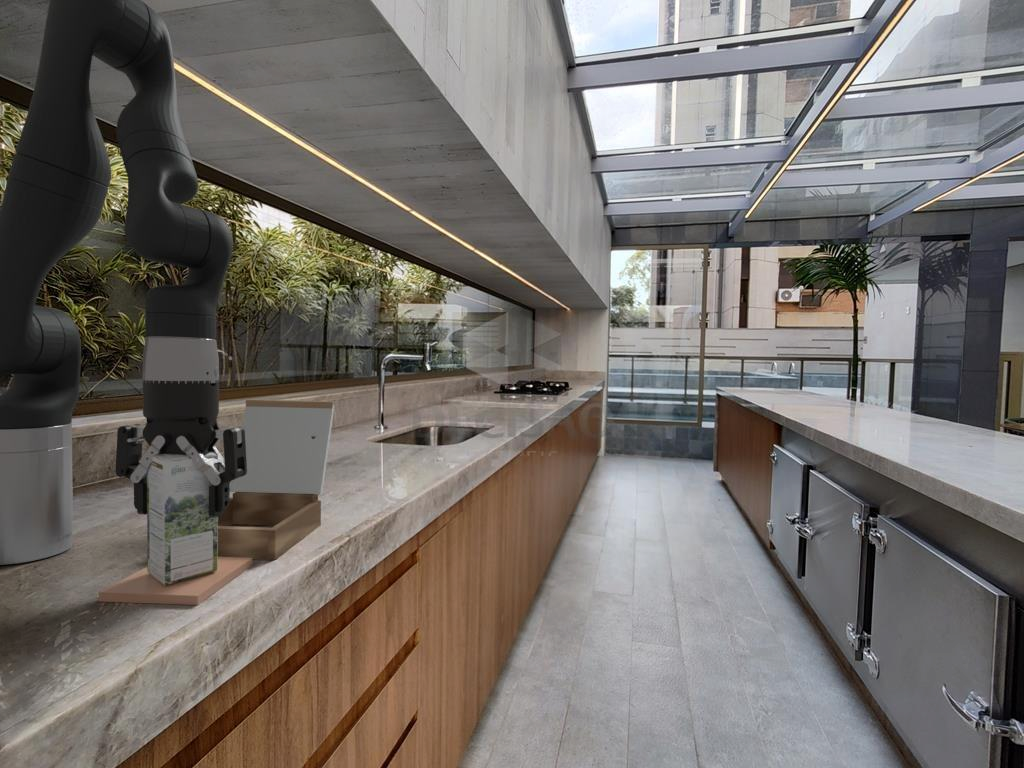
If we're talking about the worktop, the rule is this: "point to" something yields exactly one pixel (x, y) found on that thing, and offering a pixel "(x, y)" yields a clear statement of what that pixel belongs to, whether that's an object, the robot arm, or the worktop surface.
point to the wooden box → (266, 523)
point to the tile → (175, 585)
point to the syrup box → (179, 520)
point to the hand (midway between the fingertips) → (182, 513)
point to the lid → (285, 446)
